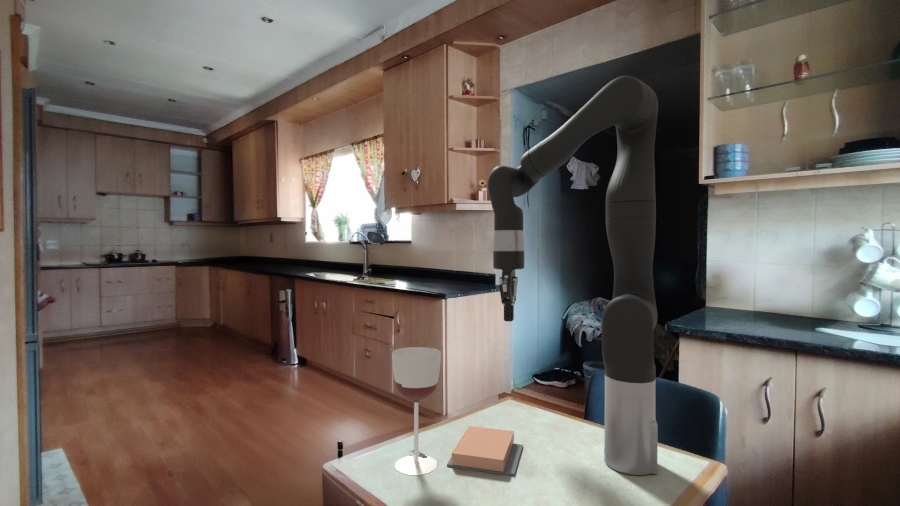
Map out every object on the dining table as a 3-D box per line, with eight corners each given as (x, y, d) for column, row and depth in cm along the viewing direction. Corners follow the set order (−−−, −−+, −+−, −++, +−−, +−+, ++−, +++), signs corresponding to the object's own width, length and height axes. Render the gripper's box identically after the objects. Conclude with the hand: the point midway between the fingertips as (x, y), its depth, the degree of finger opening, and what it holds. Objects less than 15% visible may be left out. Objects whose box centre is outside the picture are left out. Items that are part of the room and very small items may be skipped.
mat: (522, 446, 95) (522, 444, 95) (514, 476, 82) (514, 473, 82) (463, 439, 98) (463, 437, 98) (447, 466, 86) (447, 464, 86)
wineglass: (439, 476, 82) (440, 357, 82) (388, 475, 82) (388, 356, 82) (441, 454, 91) (441, 347, 91) (394, 453, 91) (395, 346, 91)
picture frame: (514, 431, 96) (503, 460, 82) (513, 441, 96) (503, 472, 82) (469, 425, 99) (451, 453, 85) (469, 436, 99) (451, 465, 85)
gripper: (520, 249, 100) (520, 325, 100) (527, 249, 113) (527, 317, 113) (488, 249, 102) (488, 324, 102) (498, 249, 115) (498, 316, 115)
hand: (508, 320), depth 107 cm, fingers closed
